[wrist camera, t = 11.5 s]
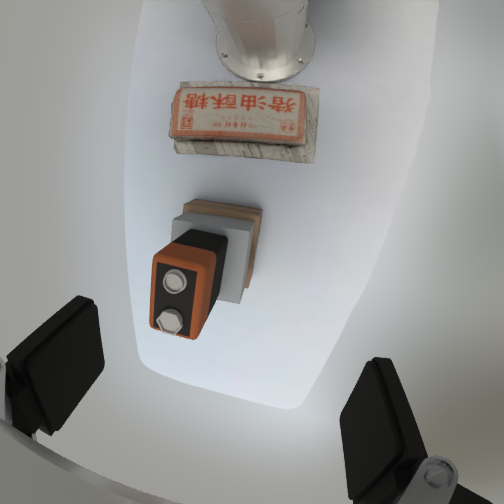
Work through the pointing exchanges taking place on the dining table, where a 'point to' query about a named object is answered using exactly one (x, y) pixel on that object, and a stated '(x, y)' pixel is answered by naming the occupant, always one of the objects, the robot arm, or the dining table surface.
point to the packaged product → (245, 120)
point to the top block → (237, 247)
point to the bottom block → (231, 212)
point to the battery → (186, 282)
